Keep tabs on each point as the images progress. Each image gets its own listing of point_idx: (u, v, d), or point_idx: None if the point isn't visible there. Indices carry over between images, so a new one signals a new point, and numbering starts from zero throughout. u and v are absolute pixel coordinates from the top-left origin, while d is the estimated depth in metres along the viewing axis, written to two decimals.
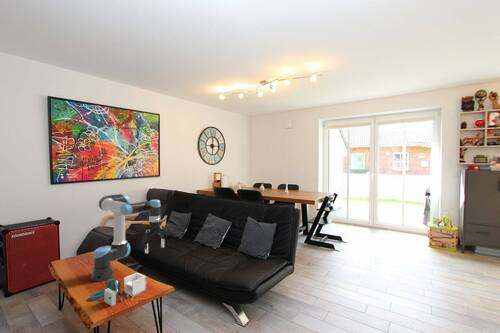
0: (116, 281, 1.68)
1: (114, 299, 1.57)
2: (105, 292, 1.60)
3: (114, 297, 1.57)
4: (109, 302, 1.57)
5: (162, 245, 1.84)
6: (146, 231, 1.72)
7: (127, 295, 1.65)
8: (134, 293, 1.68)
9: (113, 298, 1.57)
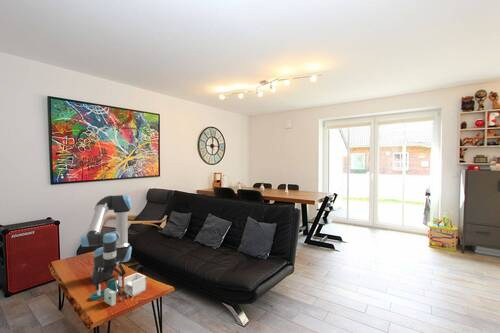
0: (116, 281, 1.68)
1: (114, 299, 1.57)
2: (105, 292, 1.60)
3: (114, 297, 1.57)
4: (109, 302, 1.57)
5: (119, 283, 1.64)
6: (98, 270, 1.53)
7: (127, 295, 1.65)
8: (134, 293, 1.68)
9: (113, 298, 1.57)
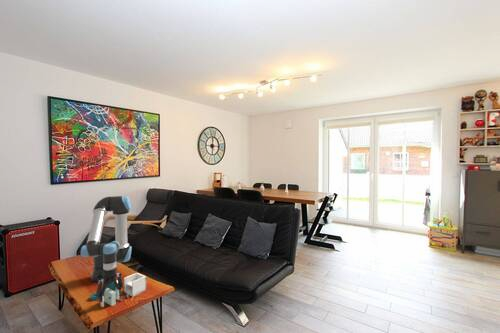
0: None
1: (114, 299, 1.57)
2: (105, 292, 1.60)
3: (114, 297, 1.57)
4: (109, 302, 1.57)
5: (117, 297, 1.63)
6: (99, 283, 1.53)
7: (127, 295, 1.65)
8: (134, 293, 1.68)
9: (113, 298, 1.57)
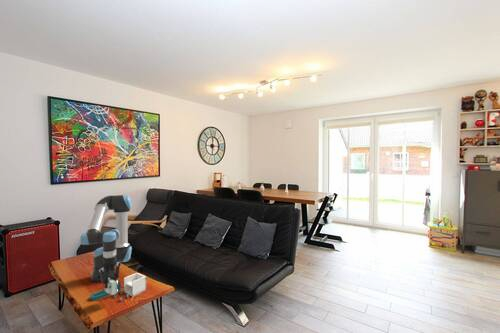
0: (116, 281, 1.68)
1: (114, 288, 1.58)
2: None
3: (114, 286, 1.58)
4: (109, 291, 1.58)
5: None
6: (99, 271, 1.54)
7: (127, 295, 1.65)
8: (134, 293, 1.68)
9: (113, 287, 1.57)
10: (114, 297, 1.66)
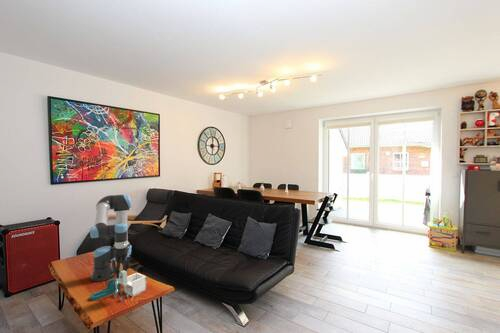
0: None
1: (125, 278, 1.63)
2: None
3: (125, 276, 1.63)
4: (121, 281, 1.63)
5: None
6: (111, 261, 1.60)
7: (127, 295, 1.65)
8: (134, 293, 1.68)
9: (124, 277, 1.63)
10: (114, 297, 1.66)
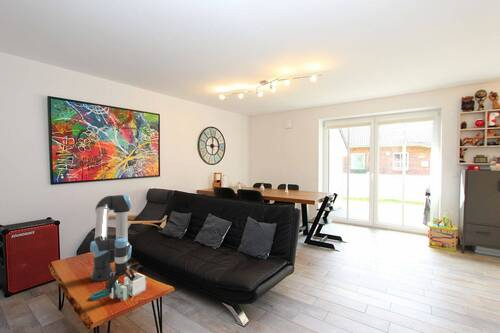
0: (116, 281, 1.68)
1: (125, 294, 1.63)
2: (117, 287, 1.66)
3: (125, 292, 1.63)
4: None
5: (129, 287, 1.70)
6: (110, 274, 1.59)
7: (127, 295, 1.65)
8: (134, 293, 1.68)
9: (125, 293, 1.63)
10: (114, 297, 1.66)
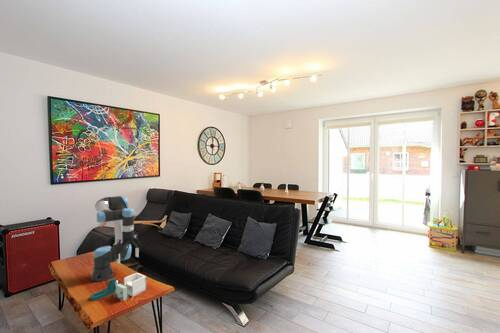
0: (116, 281, 1.68)
1: (125, 294, 1.63)
2: (117, 287, 1.66)
3: (125, 292, 1.63)
4: None
5: (136, 254, 1.81)
6: (118, 241, 1.69)
7: (127, 295, 1.65)
8: (134, 293, 1.68)
9: (125, 293, 1.63)
10: (114, 297, 1.66)
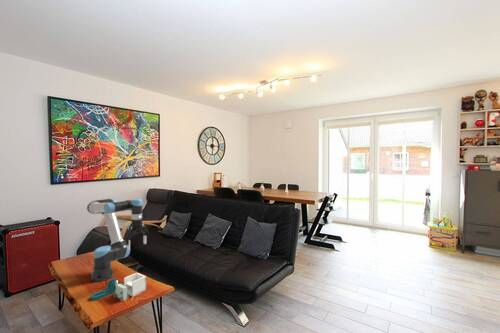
0: (116, 281, 1.68)
1: (125, 294, 1.63)
2: (117, 287, 1.66)
3: (125, 292, 1.63)
4: None
5: (144, 242, 1.95)
6: (128, 228, 1.83)
7: (127, 295, 1.65)
8: (134, 293, 1.68)
9: (125, 293, 1.63)
10: (114, 297, 1.66)
